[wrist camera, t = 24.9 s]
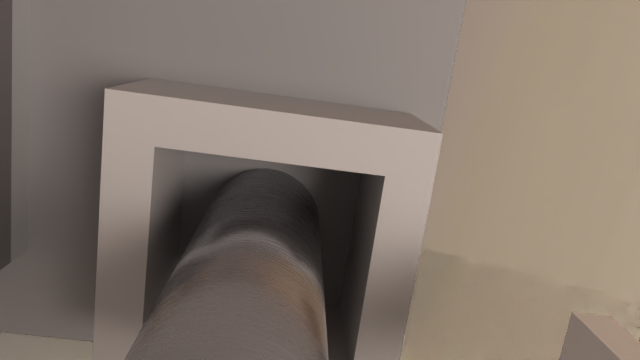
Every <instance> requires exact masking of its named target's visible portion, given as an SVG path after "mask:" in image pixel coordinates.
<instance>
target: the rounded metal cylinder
mask: <svg viewBox="0 0 640 360" xmlns="http://www.w3.org/2000/svg"><path fill="white" fill-rule="evenodd" d="M124 360H329V357H328V343H327V328H326V313H325V298H324V284H323V269H322V254H321V239H320V224H319V214H318V209H317V206H316V203H315V201H314V198H313V196H312V195H311V193H310V192H309V190H308V189H307V188H306V187H305V186H304V185H303V184H302V183H301V182H300V181H299V180H297V179H296V178H294V177H293V176H291V175H289V174H287V173H284V172H281V171H278V170H274V169H253V170H249V171H245V172H242V173H240V174H238V175H236V176H234V177H233V178H231V179H230V180H229V181H227V182H226V183H225V184H224V185H223V186H222V187H221V188H220V190H219V191H218V193H217V194H216V196H215V198H214V199H213V201H212V203H211V205H210V206H209V208H208V210H207V212H206V214H205V215H204V217H203V219H202V221H201V223H200V224H199V226H198V228H197V230H196V232H195V233H194V235H193V237H192V239H191V241H190V242H189V244H188V246H187V248H186V250H185V251H184V253H183V255H182V257H181V258H180V260H179V262H178V264H177V266H176V267H175V269H174V271H173V273H172V275H171V276H170V278H169V280H168V282H167V284H166V285H165V287H164V289H163V291H162V293H161V294H160V296H159V298H158V300H157V302H156V303H155V305H154V307H153V309H152V310H151V312H150V314H149V316H148V318H147V319H146V321H145V323H144V325H143V327H142V328H141V330H140V332H139V334H138V336H137V337H136V339H135V341H134V343H133V345H132V346H131V348H130V350H129V352H128V354H127V355H126V357H125V359H124Z"/></svg>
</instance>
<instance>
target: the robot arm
mask: <svg viewBox="0 0 640 360" xmlns="http://www.w3.org/2000/svg"><path fill="white" fill-rule="evenodd" d="M559 360H640V342H639V341H637V340H636V339H635V338H634V337H633V336H632V335H631V334H629V333H628V332H627V331H626V330H625V329H624V328H623V327H622V326H620V325H619V324H618V323H617V322H616V321H615V320H614V319H612V318H611V317H610V316H604V315H595V314H586V313H577V312H572V314H571V317H570V321H569V325H568V329H567V332H566V336H565V340H564V343H563V347H562V351H561V355H560V358H559Z"/></svg>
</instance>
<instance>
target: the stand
mask: <svg viewBox="0 0 640 360" xmlns="http://www.w3.org/2000/svg"><path fill="white" fill-rule="evenodd" d="M465 4H466V0H0V332H5V333H15V334H25V335H34V336H44V337H54V338H63V339H73V340H82V341H92V342H93V360H124V359H125V357H126V355H127V354H128V352H129V350H130V348H131V346H132V345H133V343H134V341H135V339H136V337H137V336H138V334H139V332H140V330H141V328H142V327H143V325H144V323H145V321H146V319H147V318H148V316H149V314H150V312H151V310H152V309H153V307H154V305H155V303H156V302H157V300H158V298H159V296H160V294H161V293H162V291H163V289H164V287H165V285H166V284H167V282H168V280H169V278H170V276H171V275H172V273H173V271H174V269H175V267H176V266H177V264H178V262H179V260H180V258H181V257H182V255H183V253H184V251H185V250H186V248H187V246H188V244H189V242H190V241H191V239H192V237H193V235H194V233H195V232H196V230H197V228H198V226H199V224H200V223H201V221H202V219H203V217H204V215H205V214H206V212H207V210H208V208H209V206H210V205H211V203H212V201H213V199H214V198H215V196H216V194H217V193H218V191H219V190H220V188H221V187H222V186H223V185H224V184H225V183H226V182H227V181H229V180H230V179H231V178H233V177H234V176H236V175H238V174H240V173H242V172H245V171H249V170H253V169H274V170H278V171H281V172H284V173H287V174H289V175H291V176H293V177H294V178H296V179H297V180H299V181H300V182H301V183H302V184H303V185H304V186H305V187H306V188H307V189H308V190H309V192H310V193H311V195H312V196H313V198H314V201H315V203H316V206H317V209H318V214H319V224H320V239H321V254H322V269H323V284H324V298H325V313H326V328H327V343H328V357H329V360H400V356H401V351H402V346H403V340H404V335H405V330H406V325H407V320H408V314H409V309H410V304H411V299H412V293H413V288H414V283H415V278H416V273H417V267H418V262H419V257H420V252H421V247H422V241H423V236H424V231H425V226H426V221H427V215H428V210H429V205H430V200H431V195H432V189H433V184H434V179H435V174H436V169H437V163H438V158H439V153H440V148H441V143H442V137H443V133H441V130H442V125H443V120H444V114H445V109H446V104H447V99H448V93H449V88H450V83H451V78H452V73H453V67H454V62H455V57H456V52H457V46H458V41H459V36H460V31H461V25H462V20H463V15H464V10H465Z"/></svg>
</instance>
